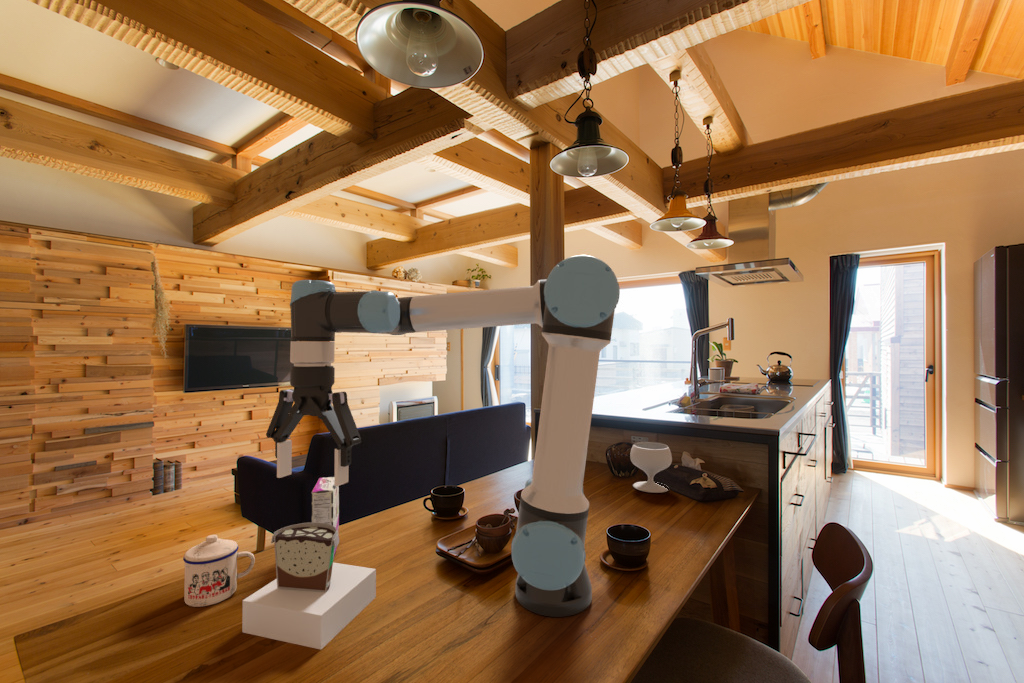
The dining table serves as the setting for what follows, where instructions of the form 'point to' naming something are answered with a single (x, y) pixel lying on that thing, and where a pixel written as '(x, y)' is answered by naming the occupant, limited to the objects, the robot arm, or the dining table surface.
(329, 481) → the candy bar box
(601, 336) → the robot arm
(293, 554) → the food container
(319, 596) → the white block
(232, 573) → the teacup with lid
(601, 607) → the dining table surface
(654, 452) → the chalice
